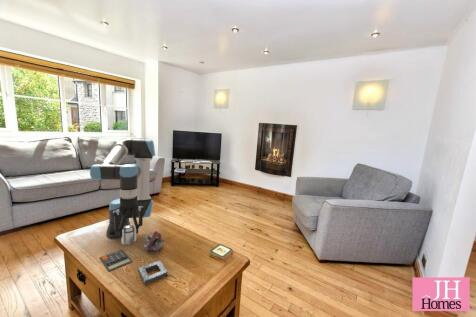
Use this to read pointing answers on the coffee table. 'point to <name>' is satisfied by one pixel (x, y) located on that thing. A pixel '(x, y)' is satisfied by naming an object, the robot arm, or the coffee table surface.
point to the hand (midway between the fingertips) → (128, 241)
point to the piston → (128, 234)
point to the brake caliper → (154, 242)
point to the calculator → (115, 260)
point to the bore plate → (152, 277)
